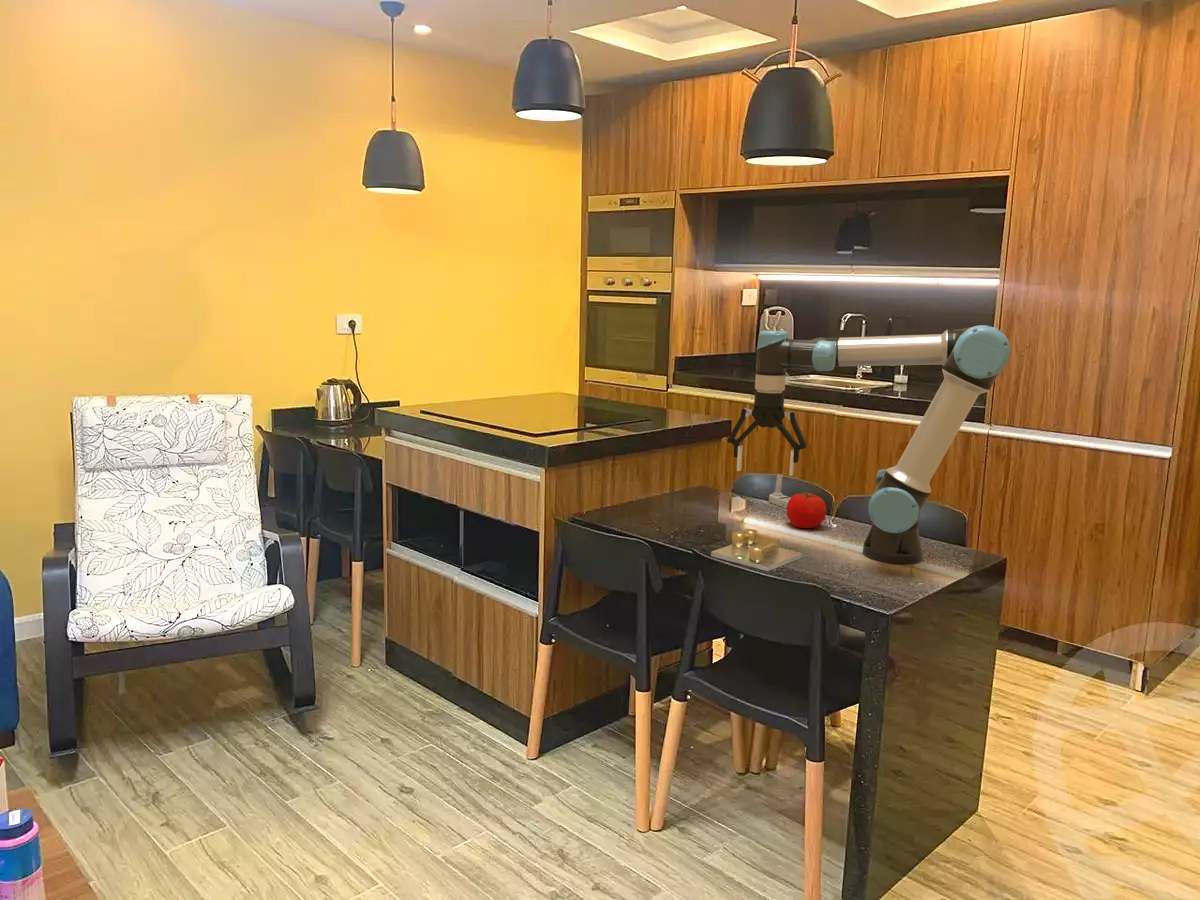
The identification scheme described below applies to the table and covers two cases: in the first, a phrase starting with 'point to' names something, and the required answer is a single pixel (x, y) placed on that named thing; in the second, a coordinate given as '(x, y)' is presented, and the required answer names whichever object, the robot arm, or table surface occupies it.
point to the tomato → (806, 510)
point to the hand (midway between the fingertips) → (765, 472)
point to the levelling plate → (741, 554)
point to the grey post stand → (779, 494)
